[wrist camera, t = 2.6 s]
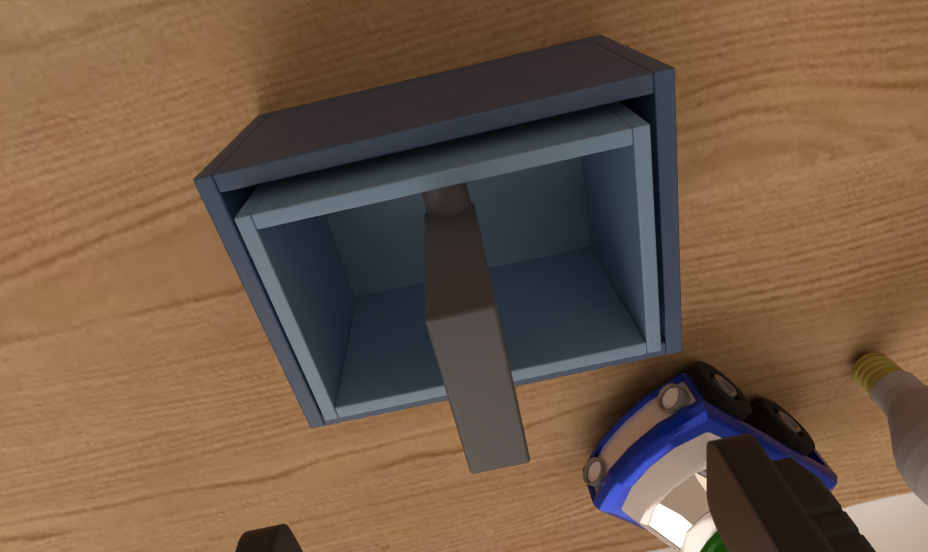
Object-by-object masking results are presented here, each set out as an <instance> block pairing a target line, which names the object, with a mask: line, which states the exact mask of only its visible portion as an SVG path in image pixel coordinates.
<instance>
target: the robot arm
mask: <svg viewBox="0 0 928 552" xmlns="http://www.w3.org/2000/svg"><path fill="white" fill-rule="evenodd" d="M706 493H707V501H708V506H709V510H710V513H711V516H712V519H713V522H714V524H715V527H716V529H717V531H718V533H719V535H720V537H721V539H722V541H723V543H724V545H725V547H726V548H727V550H728V552H876V551H875V550H874V549H873V547H872V546H871V545H870V543H869V542H868V541H867V539H866V538H865V537H864V535H861V534H860V533H859V530H858V528H857V526H856V525H855V524H854V522H853V521H852V520H851V518H850V517H849V516H848V514H847V513H846V512H845V511H843V510H842V508H841V505H840V504H839V502H838V501H837V500H836V499H835V497H834V496H833V495H832V493H831V492H830V491H829V489H828V488H827V487H826V485H825V484H824V483H823V481H822V480H821V479H820V478H819V477H818V476H816V475H815V474H813V473H812V472H811V471H809V470H808V469H806V468H805V467H803V466H802V465H801V464H799V463H798V462H796V461H795V460H794V459H792V458H791V457H790V458H785V459H780V460H774V461H772V460H771V459H770V457H769V456H768V454H767V453H766V451H765V450H764V448H763V447H762V446H761V444H760V443H759V441H758V440H757V439H756V438H755V437H754V436H753V435H752V434H750V433H747V434H742V435H737V436H732V437H727V438H722V439H717V440H711V441H708V443H707V446H706ZM235 552H303V551H302V549H301V547H300V545H299V544H298V542H297V540H296V538H295V537H294V535H293V533H292V531H291V530H290V528H289V527H288V526H287V525H286V524H281V525H276V526H271V527H266V528H261V529H256V530H251V531H247V532H245V533H243V535H242V536H241V538H240V540H239V542H238V545H237V548H236V551H235Z"/></svg>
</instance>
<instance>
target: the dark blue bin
mask: <svg viewBox="0 0 928 552" xmlns="http://www.w3.org/2000/svg"><path fill="white" fill-rule="evenodd" d="M618 101H619V102H620V103H622V104H623V105H624V106H626V107H627V108H628V109H630V110H631V111H632V112H634V113H635V114H636V115H638V116H639V117H640V118H642V119H643V120H644V121H646V122H647V123H649V125H650V136H651V156H652V176H653V196H654V216H655V236H656V256H657V275H658V295H659V315H660V335H661V350H660V351H656V352H651V353H646V354H642V355H637V356H632V357H628V358H623V359H618V360H613V361H608V362H604V363H599V364H594V365H589V366H584V367H580V368H575V369H570V370H565V371H560V372H556V373H551V374H546V375H541V376H536V377H532V378H527V379H522V380H517V381H513V382H514V386H518V385H523V384H528V383H532V382H537V381H542V380H547V379H552V378H557V377H561V376H566V375H571V374H576V373H581V372H585V371H590V370H595V369H600V368H605V367H609V366H614V365H619V364H624V363H629V362H633V361H638V360H643V359H648V358H653V357H657V356H662V355H666V354H672V353H677V352H682V323H681V286H680V249H679V212H678V176H677V139H676V102H675V69H674V68H673V67H671V66H669V65H667V64H665V63H662V62H660V61H658V60H656V59H653V58H651V57H649V56H647V55H644V54H642V53H640V52H638V51H636V50H633V49H631V48H629V47H627V46H624V45H622V44H620V43H618V42H616V41H613V40H611V39H609V38H607V37H604V36H601V35H598V36H594V37H589V38H585V39H581V40H577V41H572V42H568V43H564V44H560V45H556V46H551V47H547V48H543V49H539V50H534V51H530V52H526V53H522V54H517V55H513V56H509V57H505V58H500V59H496V60H492V61H488V62H483V63H479V64H475V65H471V66H466V67H462V68H458V69H454V70H449V71H445V72H441V73H437V74H433V75H428V76H424V77H420V78H416V79H411V80H407V81H403V82H399V83H394V84H390V85H386V86H382V87H377V88H373V89H369V90H365V91H360V92H356V93H352V94H348V95H343V96H339V97H335V98H331V99H326V100H322V101H318V102H314V103H310V104H305V105H301V106H297V107H293V108H288V109H284V110H280V111H276V112H271V113H267V114H263V115H259V116H257V117H256V118H255V119H254V120H253V121H252V122H251V123H250V124H249V125H248V126H247V127H246V128H245V129H244V130H243V131H242V132H241V133H240V134H239V135H238V136H237V137H236V138H235V139H234V140H233V141H232V142H231V143H230V144H229V145H228V146H227V147H226V148H225V149H224V150H223V151H222V152H221V153H219V154H218V155H217V156H216V157H215V158H214V159H213V160H212V161H211V162H210V163H209V164H208V165H207V166H206V167H205V168H204V169H203V170H202V171H201V172H200V173H199V174H198V175H197V176H196V177H195V178H194V183H195V185H196V187H197V189H198V191H199V194H200V196H201V198H202V200H203V202H204V204H205V206H206V208H207V210H208V213H209V215H210V217H211V219H212V221H213V223H214V225H215V227H216V229H217V231H218V234H219V236H220V238H221V240H222V242H223V244H224V246H225V248H226V250H227V253H228V255H229V257H230V259H231V261H232V263H233V265H234V267H235V269H236V272H237V274H238V276H239V278H240V280H241V282H242V284H243V286H244V288H245V291H246V293H247V295H248V297H249V299H250V301H251V303H252V305H253V307H254V310H255V312H256V314H257V316H258V318H259V320H260V322H261V324H262V326H263V328H264V331H265V333H266V335H267V337H268V339H269V341H270V343H271V345H272V347H273V350H274V352H275V354H276V356H277V358H278V360H279V362H280V364H281V366H282V369H283V371H284V373H285V375H286V377H287V379H288V381H289V383H290V385H291V388H292V390H293V392H294V394H295V396H296V398H297V400H298V402H299V404H300V407H301V409H302V411H303V413H304V415H305V417H306V419H307V421H308V423H309V425H310V428H316V427H320V426H324V425H325V424H326V425H331V424H336V423H340V422H345V421H350V420H355V419H360V418H364V417H369V416H374V415H379V414H384V413H388V412H393V411H398V410H403V409H408V408H412V407H417V406H422V405H427V404H432V403H436V402H441V401H446V400H449V399H448V396H447V395H445V396H441V397H436V398H431V399H426V400H421V401H417V402H412V403H407V404H402V405H397V406H393V407H388V408H383V409H378V410H373V411H369V412H364V413H359V414H354V415H349V416H345V417H338V418H336V419H331V420H325V419H324V416H323V414H322V412H321V410H320V408H319V405H318V403H317V401H316V399H315V396H314V394H313V392H312V390H311V388H310V385H309V383H308V381H307V379H306V377H305V374H304V372H303V370H302V368H301V366H300V363H299V361H298V359H297V357H296V354H295V352H294V350H293V348H292V346H291V343H290V341H289V339H288V337H287V335H286V332H285V330H284V328H283V326H282V324H281V321H280V319H279V317H278V315H277V313H276V310H275V308H274V306H273V304H272V301H271V299H270V297H269V295H268V293H267V290H266V288H265V286H264V284H263V282H262V279H261V277H260V275H259V273H258V271H257V268H256V266H255V264H254V262H253V259H252V257H251V255H250V253H249V251H248V248H247V246H246V244H245V242H244V240H243V237H242V235H241V233H240V231H239V229H238V226H237V224H236V222H235V220H234V218H235V217H236V216H237V214H238V213H239V211H240V210H241V208H242V207H243V206H244V204H245V203H246V201H247V200H248V199H249V197H250V196H251V194H252V193H253V192H254V190H255V189H256V187H257V186H258V184H262V183H266V182H270V181H275V180H279V179H283V178H288V177H292V176H296V175H301V174H305V173H309V172H314V171H318V170H322V169H327V168H331V167H336V166H340V165H344V164H349V163H353V162H357V161H362V160H366V159H370V158H375V157H379V156H383V155H388V154H392V153H396V152H401V151H405V150H409V149H414V148H418V147H422V146H427V145H431V144H436V143H440V142H444V141H449V140H453V139H457V138H462V137H466V136H470V135H475V134H479V133H483V132H488V131H492V130H496V129H501V128H505V127H509V126H514V125H518V124H523V123H527V122H531V121H536V120H540V119H544V118H549V117H553V116H557V115H562V114H566V113H570V112H575V111H579V110H583V109H588V108H592V107H596V106H601V105H605V104H610V103H614V102H618Z"/></svg>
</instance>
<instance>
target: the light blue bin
mask: <svg viewBox="0 0 928 552" xmlns="http://www.w3.org/2000/svg"><path fill="white" fill-rule="evenodd" d="M234 220H235V222H236V224H237V226H238V229H239V231H240V233H241V235H242V237H243V240H244V242H245V244H246V246H247V248H248V251H249V253H250V255H251V257H252V259H253V262H254V264H255V266H256V268H257V271H258V273H259V275H260V277H261V279H262V282H263V284H264V286H265V288H266V290H267V293H268V295H269V297H270V299H271V301H272V304H273V306H274V308H275V310H276V313H277V315H278V317H279V319H280V321H281V324H282V326H283V328H284V330H285V332H286V335H287V337H288V339H289V341H290V343H291V346H292V348H293V350H294V352H295V354H296V357H297V359H298V361H299V363H300V366H301V368H302V370H303V372H304V374H305V377H306V379H307V381H308V383H309V385H310V388H311V390H312V392H313V394H314V396H315V399H316V401H317V403H318V405H319V408H320V410H321V412H322V414H323V416H324V419H325V420H331V419H336V418H338V417H345V416H349V415H354V414H359V413H364V412H369V411H373V410H378V409H383V408H388V407H393V406H397V405H402V404H407V403H412V402H417V401H421V400H426V399H431V398H436V397H441V396H445V395H447V396H448V399H449V403H450V406H451V409H452V413H453V416H454V420H455V423H456V426H457V430H458V433H459V436H460V440H461V443H462V446H463V450H464V453H465V456H466V460H467V463H468V466H469V470H470V472H471V473H472V474H475V473H480V472H485V471H490V470H495V469H500V468H505V467H510V466H515V465H520V464H525V463H528V462H529V461H530V456H529V452H528V447H527V442H526V438H525V433H524V428H523V424H522V419H521V415H520V410H519V405H518V401H517V396H516V391H515V387H514V382H513V381H517V380H522V379H527V378H532V377H536V376H541V375H546V374H551V373H556V372H560V371H565V370H570V369H575V368H580V367H584V366H589V365H594V364H599V363H604V362H608V361H613V360H618V359H623V358H628V357H632V356H637V355H642V354H646V353H651V352H656V351H660V350H661V335H660V315H659V295H658V275H657V256H656V236H655V216H654V196H653V176H652V156H651V136H650V125H649V123H647V122H646V121H644V120H643V119H642V118H640V117H639V116H638V115H636V114H635V113H634V112H632V111H631V110H630V109H628V108H627V107H626V106H624V105H623V104H622V103H620V102H619V101H618V102H614V103H610V104H605V105H601V106H596V107H592V108H588V109H583V110H579V111H575V112H570V113H566V114H562V115H557V116H553V117H549V118H544V119H540V120H536V121H531V122H527V123H523V124H518V125H514V126H509V127H505V128H501V129H496V130H492V131H488V132H483V133H479V134H475V135H470V136H466V137H462V138H457V139H453V140H449V141H444V142H440V143H436V144H431V145H427V146H422V147H418V148H414V149H409V150H405V151H401V152H396V153H392V154H388V155H383V156H379V157H375V158H370V159H366V160H362V161H357V162H353V163H349V164H344V165H340V166H336V167H331V168H327V169H322V170H318V171H314V172H309V173H305V174H301V175H296V176H292V177H288V178H283V179H279V180H275V181H270V182H266V183H262V184H258V186H257V187H256V189H255V190H254V192H253V193H252V194H251V196H250V197H249V199H248V200H247V201H246V203H245V204H244V206H243V207H242V208H241V210H240V211H239V213H238V214H237V216H236V217H235V218H234Z"/></svg>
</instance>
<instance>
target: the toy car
mask: <svg viewBox="0 0 928 552" xmlns="http://www.w3.org/2000/svg"><path fill="white" fill-rule="evenodd" d="M747 433H750V434H752V435H753V436H754V437H755V438H756V439H757V440H758V441H759V443H760V444H761V446H762V447H763V448H764V450H765V451H766V453H767V454H768V456H769V457H770V459H771V460H772V461H774V460H780V459H785V458H790V457H791V458H792V459H794V460H795V461H796V462H798V463H799V464H801V465H802V466H803V467H805V468H806V469H808V470H809V471H811V472H812V473H813V474H815V475H816V476H818V477H819V478H820V479H821V480H822V481H823V483H824V484H825V485H826V487H827V488H828V489H829V491H830V492H831V491H832V490H833V489H834V487H835V486H836V485H837V475H836V474H835V473H834V472H833V470H832V469H831V468H830V467H829V465H828V464H827V463H826V462H825V460H824V459H823V458H822V457H821V455H820V454H819V453H818V452H817V450H816V449H815V444H814V442H813V440H812V438H811V437H810V435H809V434H808V433H807V432H806V430H805V429H804V428H803V427H802V426H801V425H800V424H799V423H798V422H797V421H796V420H795V419H794V418H793V417H792V416H791V415H790V414H789V413H787V412H786V411H785V410H784V409H783V408H781V407H780V406H778V405H777V404H776V403H774V402H772V401H770V400H768V399H765V398H761V399H760V400H759V401H758V402H756V403H755V404H754V405H753V406H752V407H751V406H750V404H749V402H748V400H747V399H746V397H745V396H744V395H743V393H742V392H741V391H740V390H739V389H738V388H737V387H736V386H735V385H734V384H733V383H732V382H731V381H730V380H729V379H728V378H727V377H725V376H724V375H723V374H722V373H721V372H719V371H718V370H716V369H715V368H714V367H712V366H710V365H708V364H706V363H703V362H697V363H696V364H695V365H694V366H693V367H692V368H691V369H690V370H689V371H688V372H687V373H686V374H685V373H681V374H679V375H677V376H676V377H674V378H673V379H671V380H669V381H668V382H666V383H665V384H663V385H662V386H660V387H658V388H657V389H655V390H654V391H652V392H651V393H649V394H647V395H646V396H644V397H643V398H642V399H641V400H640V401H639V402H638V403H636V404H635V405H634V406H633V407H632V408H631V409H629V410H628V411H627V412H626V413H625V414H624V415H623V416H621V417H620V418H619V419H618V420H617V421H616V423H615V424H614V425H613V426H612V427H611V428H610V430H609V431H608V432H607V433H606V434H605V435H604V436H603V438H602V439H601V440H600V441H599V442H598V444H597V446H596V447H595V449H594V451H593V453H592V454H591V456H590V458H589V460H588V461H587V463H586V465H585V467H584V468H583V479H584V481H585V483H587V486H588V489H589V492H590V495H591V498H592V501H593V504H594V506H595V507H597V508H598V509H599V510H600V511H603V512H605V513H607V514H610V515H612V516H614V517H617V518H619V519H621V520H624V521H626V522H629V523H631V524H633V525H636V526H638V527H640V528H643V529H645V530H647V531H650V532H651V533H652V534H654V535H655V536H656V537H658V538H659V539H660V540H662V541H663V542H665V543H666V544H667V545H669V546H670V547H671V548H673V549H674V550H676V551H677V552H728V550H727V548H726V547H725V545H724V543H723V541H722V539H721V537H720V535H719V533H718V531H717V529H716V527H715V524H714V522H713V519H712V516H711V513H710V510H709V506H708V501H707V493H706V446H707V443H708V441H711V440H717V439H722V438H727V437H732V436H737V435H742V434H747Z"/></svg>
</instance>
